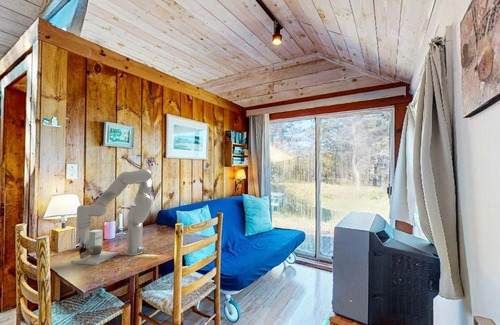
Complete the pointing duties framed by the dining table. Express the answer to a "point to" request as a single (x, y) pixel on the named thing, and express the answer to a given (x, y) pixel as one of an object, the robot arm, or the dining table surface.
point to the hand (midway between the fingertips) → (82, 254)
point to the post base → (95, 258)
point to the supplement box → (95, 238)
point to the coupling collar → (91, 251)
